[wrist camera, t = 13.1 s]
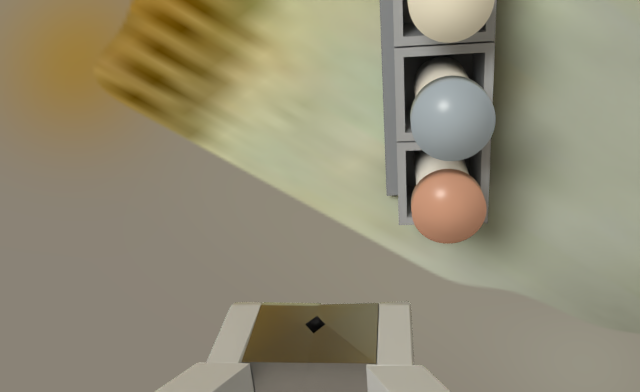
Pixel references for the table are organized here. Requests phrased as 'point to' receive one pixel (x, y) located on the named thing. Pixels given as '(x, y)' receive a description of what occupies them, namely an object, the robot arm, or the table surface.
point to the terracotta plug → (446, 200)
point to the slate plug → (450, 111)
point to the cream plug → (449, 18)
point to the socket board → (398, 94)
